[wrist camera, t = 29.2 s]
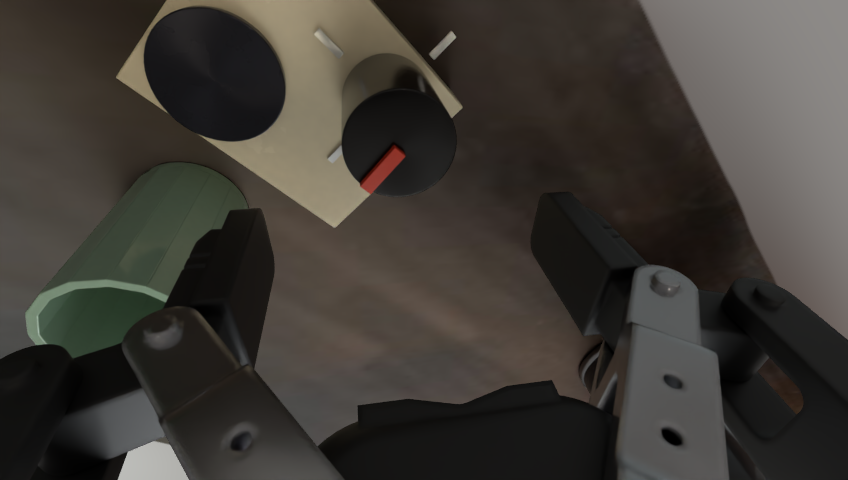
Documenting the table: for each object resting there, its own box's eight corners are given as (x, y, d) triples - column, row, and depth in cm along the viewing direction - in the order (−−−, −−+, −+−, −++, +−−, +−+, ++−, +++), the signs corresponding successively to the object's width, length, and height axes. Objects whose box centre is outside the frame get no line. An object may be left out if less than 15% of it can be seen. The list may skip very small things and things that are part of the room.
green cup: (270, 205, 25) (237, 327, 17) (213, 265, 27) (161, 398, 19) (168, 139, 22) (69, 252, 14) (112, 213, 24) (-3, 348, 16)
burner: (311, 78, 18) (311, 81, 18) (240, 160, 20) (238, 164, 20) (193, -30, 15) (189, -29, 15) (122, 77, 17) (116, 80, 17)
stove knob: (381, 30, 18) (395, 62, 13) (449, 96, 20) (481, 143, 15) (323, 106, 19) (316, 158, 14) (392, 159, 21) (405, 219, 17)
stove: (488, 83, 23) (506, 101, 20) (350, 213, 26) (351, 241, 24) (294, -164, 16) (285, -183, 13) (142, 61, 19) (112, 78, 17)
